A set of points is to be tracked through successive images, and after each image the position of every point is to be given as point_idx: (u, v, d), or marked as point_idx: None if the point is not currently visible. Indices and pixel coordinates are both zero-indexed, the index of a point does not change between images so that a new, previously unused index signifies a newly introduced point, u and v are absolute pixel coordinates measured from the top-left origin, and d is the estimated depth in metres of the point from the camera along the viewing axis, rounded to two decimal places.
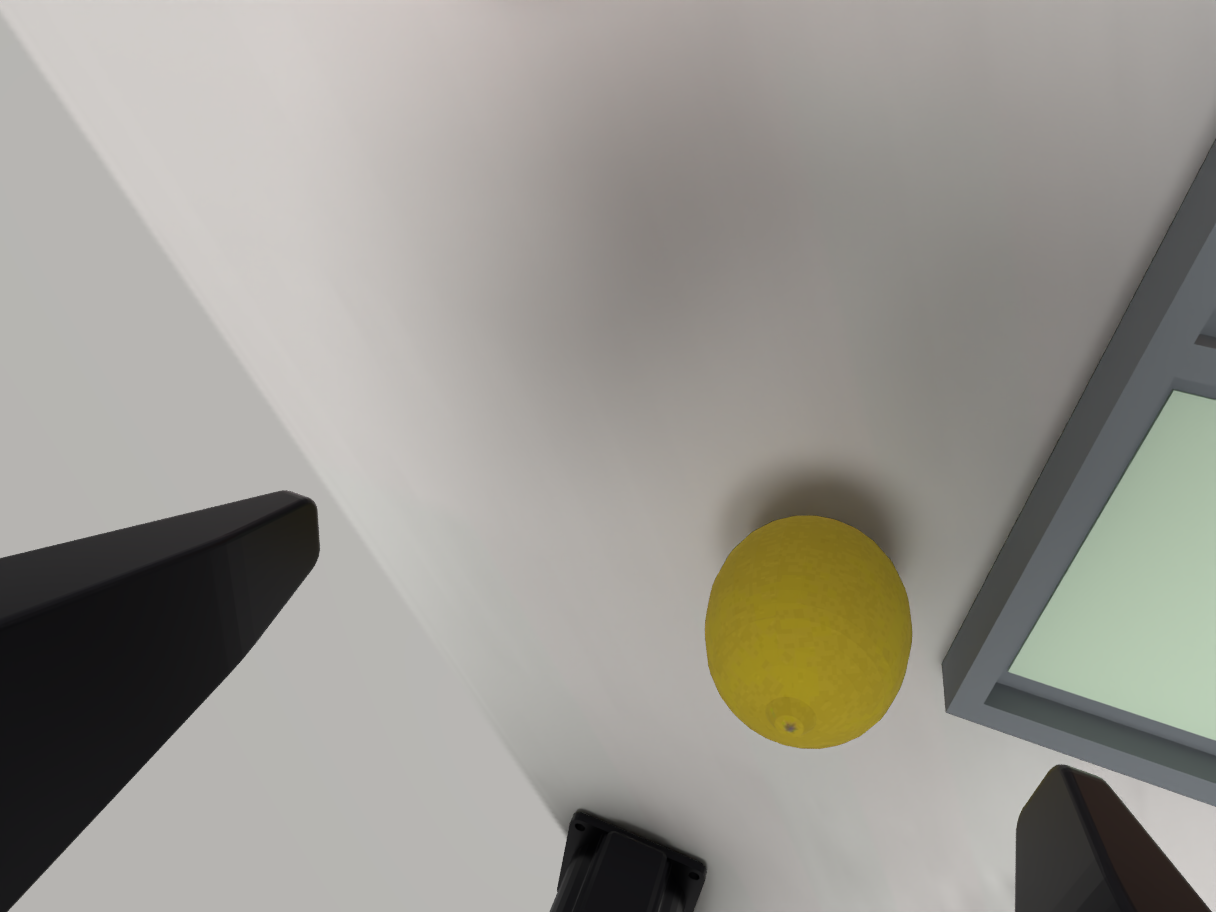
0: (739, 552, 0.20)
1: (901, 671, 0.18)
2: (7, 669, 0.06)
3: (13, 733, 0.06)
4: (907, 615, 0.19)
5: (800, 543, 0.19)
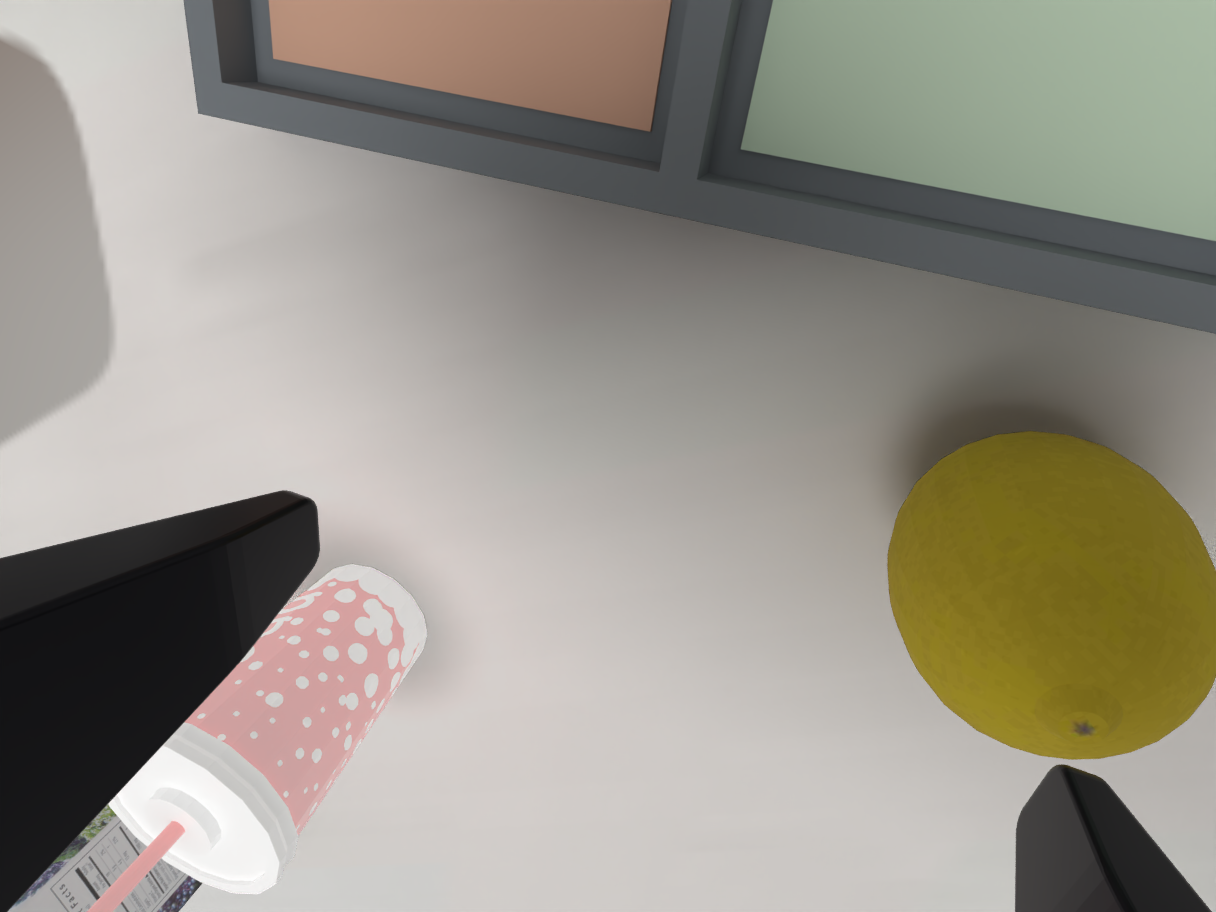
0: None
1: (1064, 514, 0.12)
2: (7, 669, 0.06)
3: (13, 733, 0.06)
4: (1003, 469, 0.13)
5: (888, 578, 0.15)
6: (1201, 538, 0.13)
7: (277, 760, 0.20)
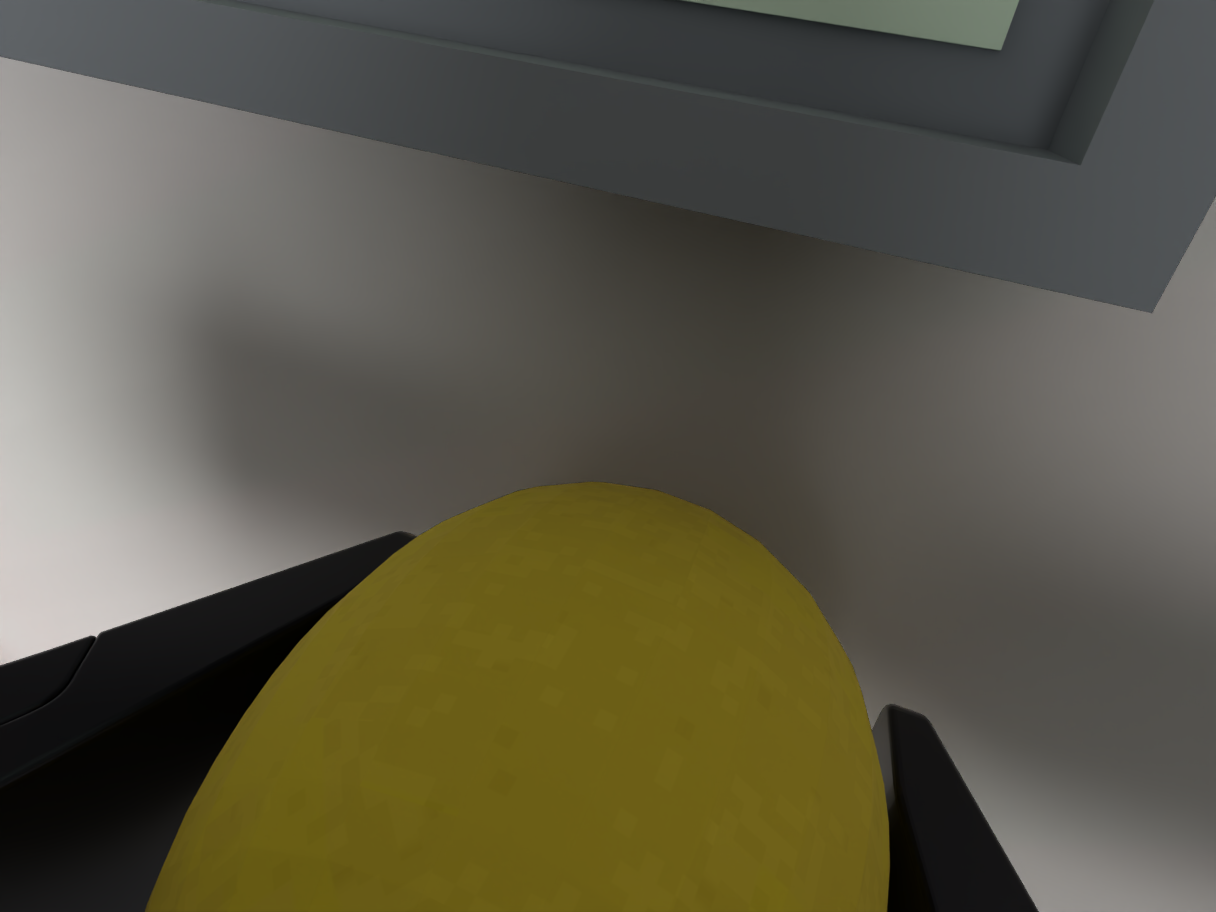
0: None
1: (369, 751, 0.04)
2: (166, 743, 0.06)
3: (165, 807, 0.06)
4: (391, 585, 0.06)
5: None
6: (826, 794, 0.05)
7: None
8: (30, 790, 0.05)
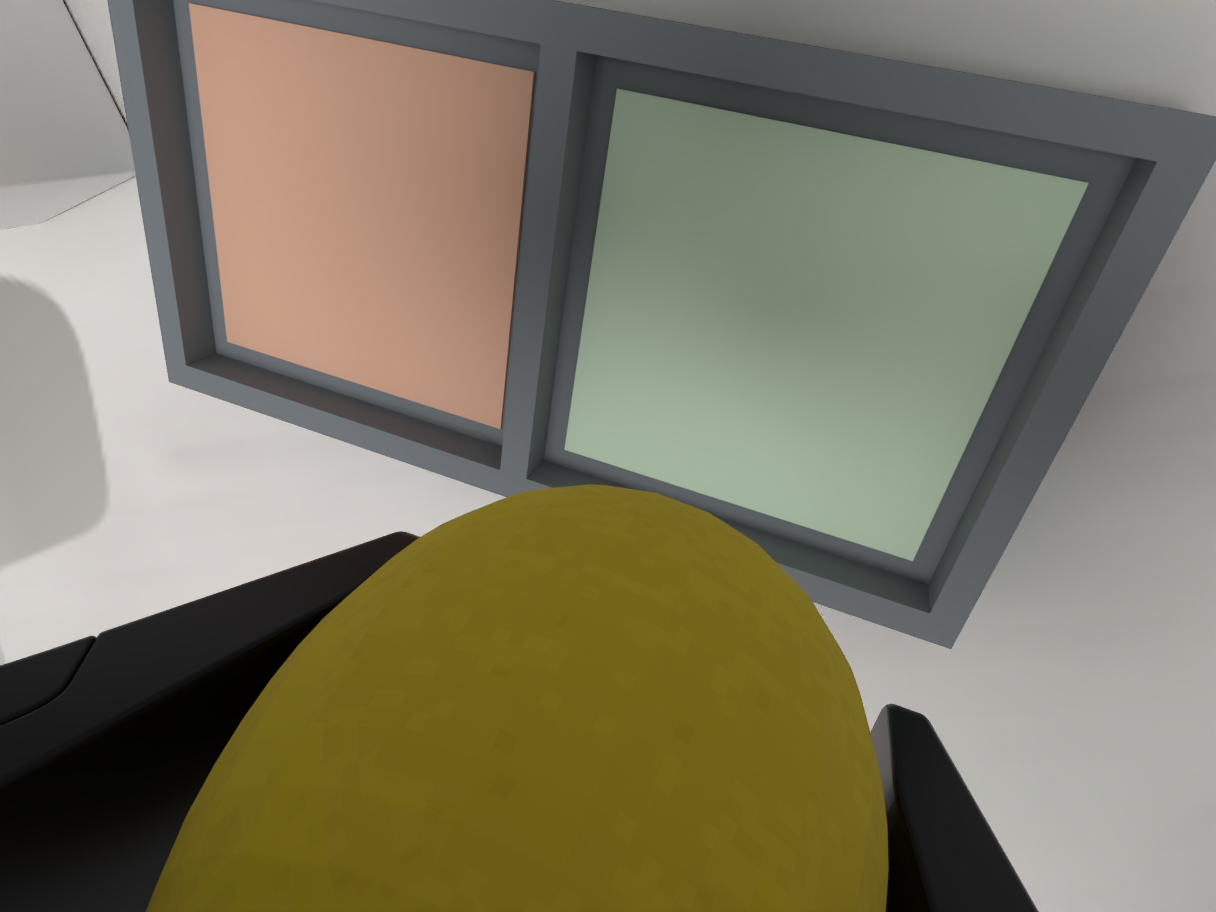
0: None
1: (369, 755, 0.04)
2: (166, 742, 0.06)
3: (165, 807, 0.06)
4: (390, 589, 0.06)
5: None
6: (824, 796, 0.05)
7: None
8: (30, 790, 0.05)
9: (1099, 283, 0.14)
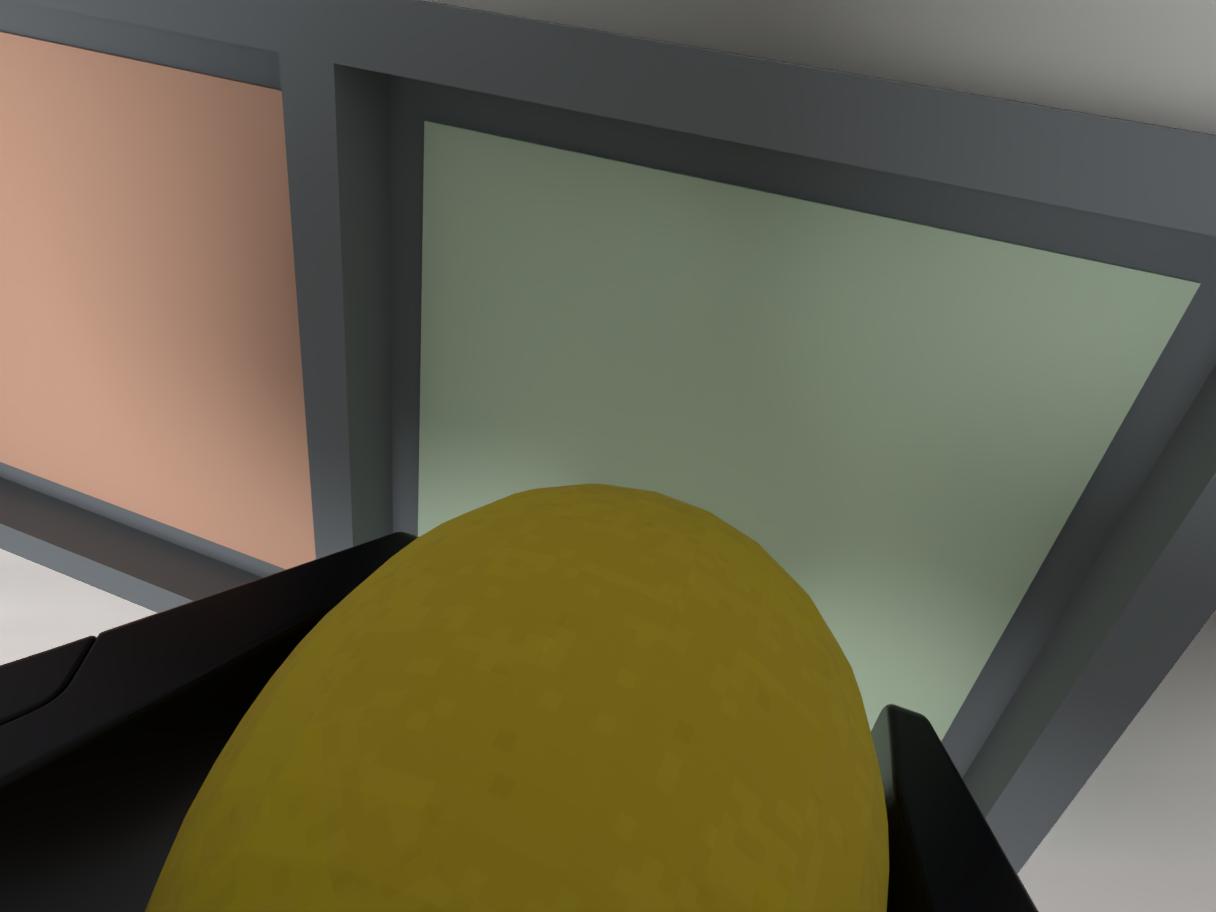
0: None
1: (368, 755, 0.04)
2: (166, 743, 0.06)
3: (165, 807, 0.06)
4: (390, 588, 0.06)
5: None
6: (825, 796, 0.05)
7: None
8: (30, 790, 0.05)
9: None
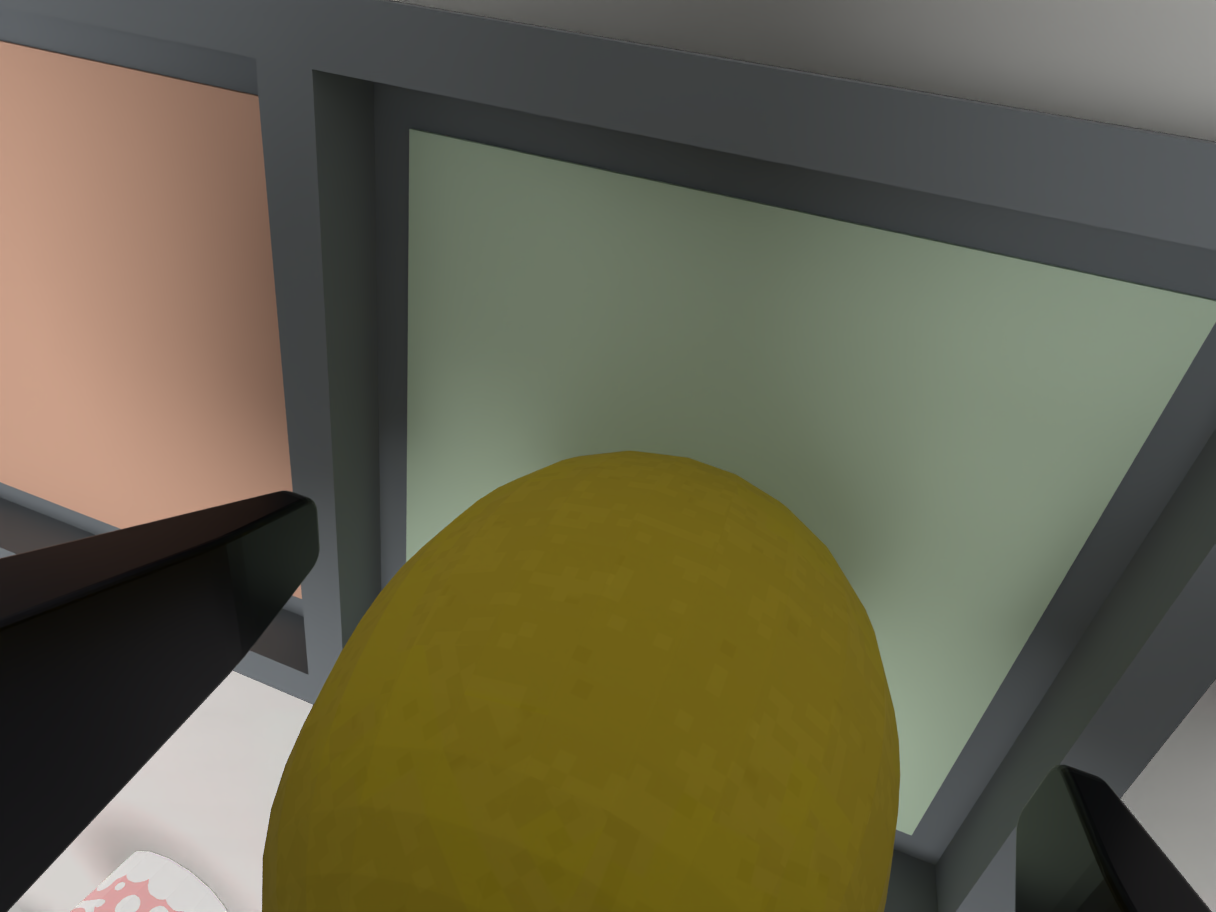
0: None
1: (468, 668, 0.05)
2: (7, 669, 0.06)
3: (13, 733, 0.06)
4: (466, 539, 0.06)
5: None
6: (846, 706, 0.06)
7: None
8: None
9: None
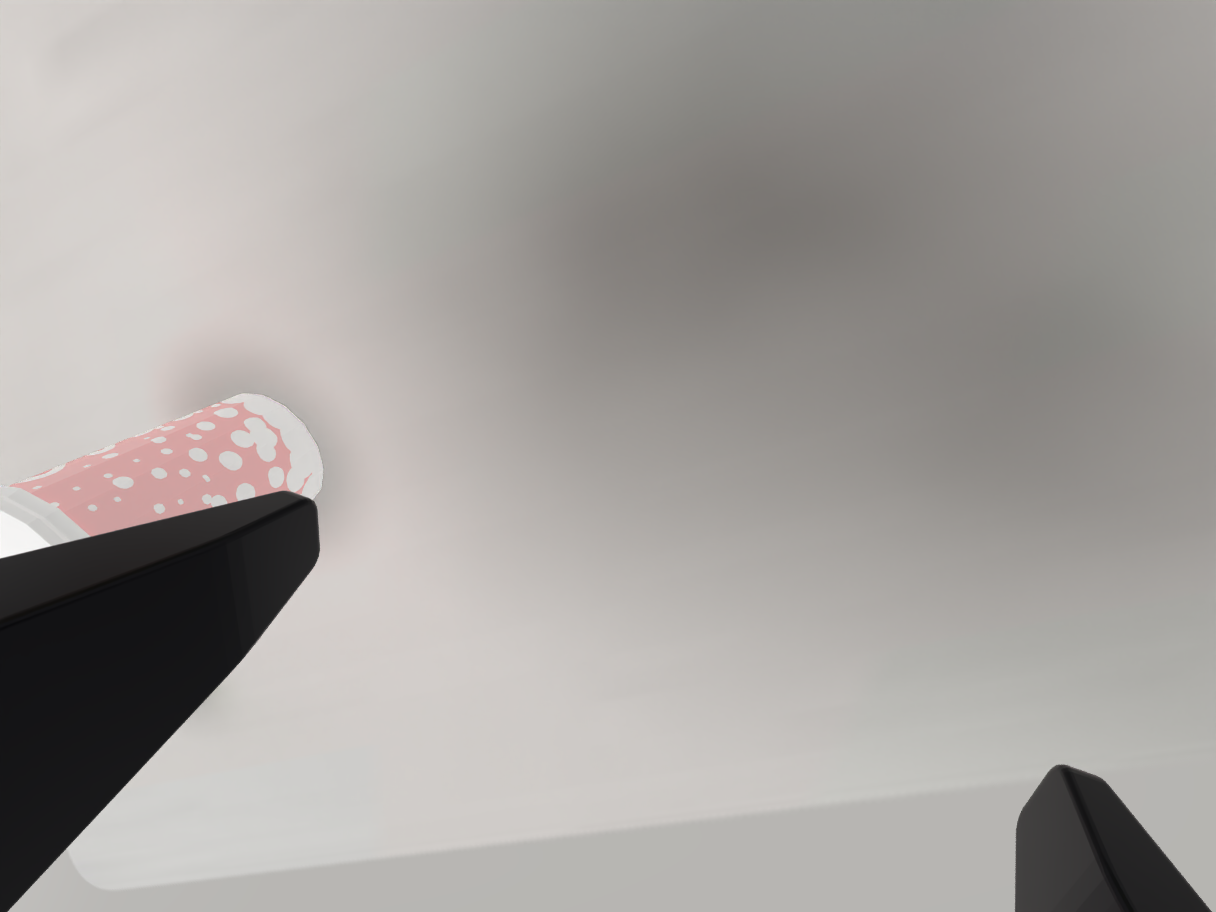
0: None
1: None
2: (7, 669, 0.06)
3: (13, 733, 0.06)
4: None
5: None
6: None
7: None
8: None
9: None
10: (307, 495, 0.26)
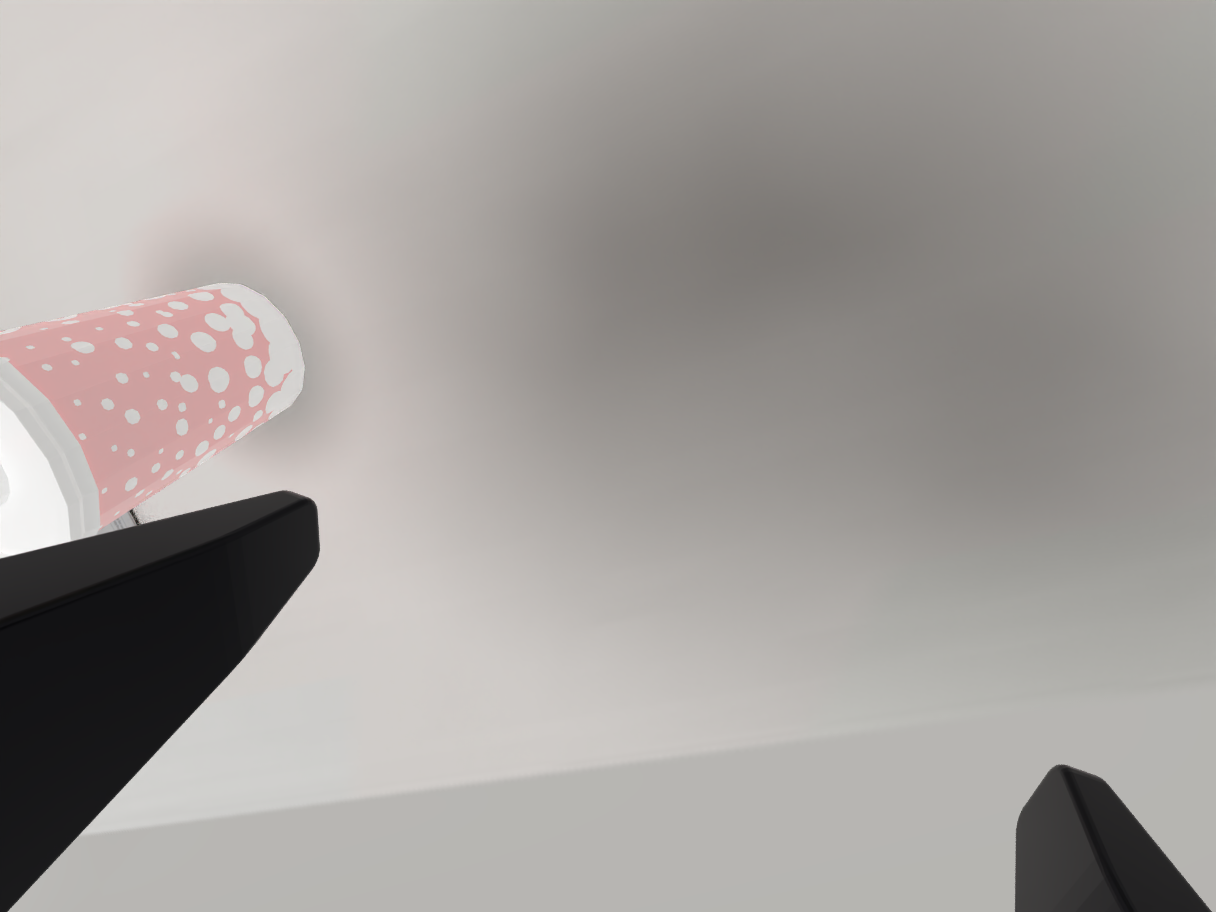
0: None
1: None
2: (7, 669, 0.06)
3: (13, 733, 0.06)
4: None
5: None
6: None
7: (73, 398, 0.17)
8: None
9: None
10: (286, 394, 0.24)
